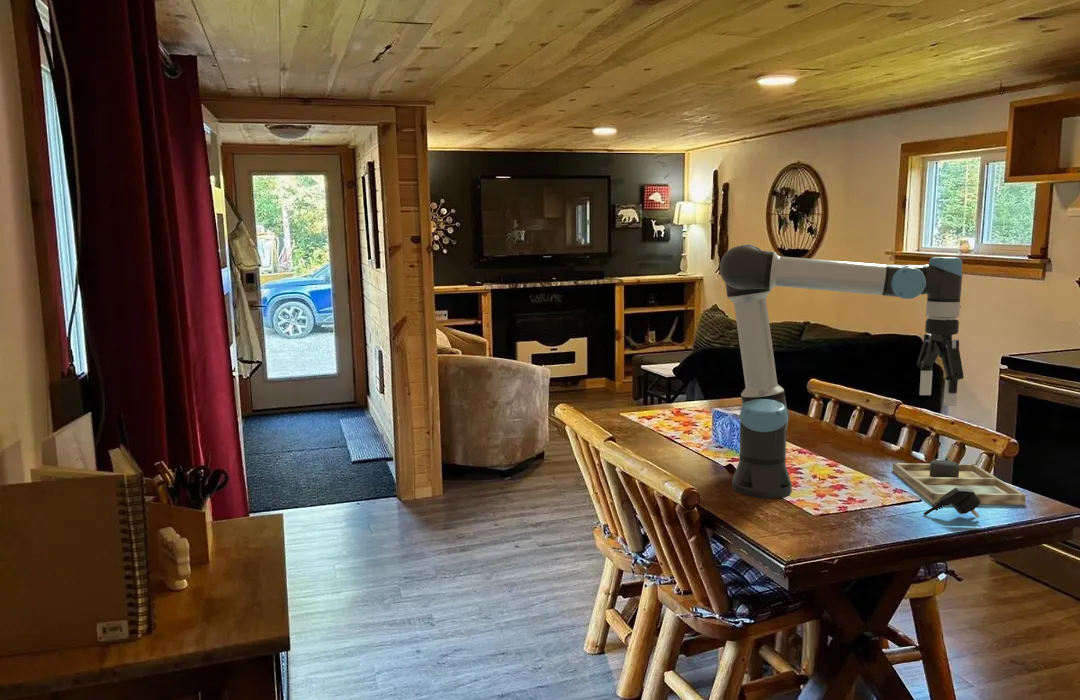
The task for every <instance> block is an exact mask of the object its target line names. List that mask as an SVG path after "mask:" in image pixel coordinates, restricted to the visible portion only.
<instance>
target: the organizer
mask: <svg viewBox="0 0 1080 700" xmlns="http://www.w3.org/2000/svg"><path fill="white" fill-rule="evenodd" d="M958 464H959V478H954V477H932V476H930V463H916V462H915V463H908V462H907V463H902V462H901V463H900V462H896V463H894V462H893V463H892V472H894V473H895V474H896V475H897V476H899V478H901V479H902V480H903V481H904V482H906V483H907V484H908V485H909V486H910V487H911V488H913V489H914V490H915V491H916V492H918V494H920V495H921V496H922V497H924V498H925V499H926V500H927V501H929V502H930V503H931V504H932V505H933V504H934V505H935V503H937V501H938V500H941V499H940V498H941V497H943V496H944V495H945V494H946V493H948V492H950V491H951V490H953V489H954V488H961V489H970V490H972V491H973V492H974V493H975V494H976V495H977V497H978V498H979V499H980V501H981V502H980V504H979V505H1000V506H1001V505H1007V506H1008V505H1009V506H1011V505H1013V506H1014V505H1019V506H1020V505H1021V506H1025V505H1026V500H1027V498H1026V497H1027V495H1026V494H1025V493H1023V492H1021V491H1020V490H1019V489H1017V488H1015V487H1013V486H1011V485H1010V484H1008V483H1007V482H1005V481H1003V480H1001V479H1000V478H998V477H997V476H995V475H993V474H991V473H990V472H989V471H987V470H985V469H984V468H982V467H980V466H979V465H978V464H974V463H958ZM938 502H939V501H938Z"/></svg>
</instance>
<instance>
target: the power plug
mask: <svg viewBox="0 0 1080 700" xmlns="http://www.w3.org/2000/svg"><path fill="white" fill-rule="evenodd" d="M940 499H941V500H938V501H939V502H938V501H937V503H935V504H932V505H931V508H929V509H928V510H926V511H924V512H923V514H922V515H924V516H927V515H928V514H930V513H932V512H933V511H938V510H941V509H943V508H945V507H947V506H950V505H952V507H953V508H954V509H955V511H956V512H957V513H958V514H959V515H965V514H968V513H971V514H972V515H974V517H976V518H977V519H978V518H980V515H979V513H978V512H977V511H976V510H975V509H976V508H978V507H979V506H980V505H981V504H980V502H981V501H980V499H979V498H978V497H977V495H976V494H975V493H974V492H973V491H972V490H970V489H961V488H954V489H953V490H951V491H950V492H948V493H946V494H945V495H944V496H943V497H941V498H940Z"/></svg>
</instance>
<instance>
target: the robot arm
mask: <svg viewBox="0 0 1080 700" xmlns="http://www.w3.org/2000/svg"><path fill="white" fill-rule="evenodd" d="M719 273H720V276H721V278H722V280H723V282H724V283H725V290H726V297H727V299H729V300H730V301H731V302H732V303H733V304H734V305H733V306H734V313H735V319H736V328H737V334H738V335H737V336H738V343H739V349H740V354H741V355H740V356H741V363H742V370H743V378H744V385H745V388H744V389H743V390H742V392H741V393H740V397H741V403H742V404H741V407H740V412H739V421H740V424H739V460H738V461H739V462H738V464H737V466H736V469H735V471H734V475H733V478H732V481H731V488H732V489H733V491H734V492H736V493H738V494H741V495H744V496H746V497H751V498H755V499H765V500H766V499H767V500H768V499H769V500H770V499H780V498H785V497H788V496H790V495H791V494H792V492H793V491H792V490H793V489H792V487H793V485H792V481H791V478H790V475H789V471H788V468H787V465H786V456H787V455H786V452H787V429H788V424H789V420H790V413H789V409H788V406H787V401H786V396H785V389H784V388H783V387H782V386H781V385H779V384H778V377H777V372H776V371H777V370H776V369H777V368H776V363H775V356H774V354H775V353H774V348H773V340H772V335H771V333H772V332H771V326H770V319H769V311H768V304H767V297H768V296H769V295H770V293H771V290H772V289H774V288H775V287H781V288H793V289H794V288H795V289H803V290H804V289H805V290H806V289H807V290H816V291H817V290H819V291H827V292H840V293H851V294H861V295H862V294H863V295H872V296H873V295H875V296H883V297H884V296H885V297H896V298H900V299H903V300H905V299H906V300H908V299H909V300H912V299H914V298H917V297H919V296H920V295H926V296H927V300H926V307H925V309H926V310H925V316H926V317H927V318H926V319H925V326H924V331H925V334H924V335H923V342H922V345H921V349H920V352H919V356H918V359H917V361H916V366H917V367H919V370H920V376H919V377H920V378H919V379H920V382H919V393H918V394H919V396H932V386H933V385H932V384H933V383H932V382H933V371H934V367H933V366H934V364H935V362H936V360H937V358H938V357H939V358H941V361H942V365H943V369H944V372H945V374H946V375H945V378H944V395H943V406H945V407H956V406H957V399H958V398H957V397H958V396H957V395H958V386H959V385H958V383H959V381H960V380H963V379H964V371H963V370H964V369H963V364H962V359H961V358H962V357H961V353H960V340H959V339H953V335H957V334H958V333H959V327H960V320H959V319H957V318H959V317H960V310H961V308H962V306H961V297H962V296H961V295H962V283H963V277H964V274H963V260H962V259H961V258H960V257H957V256H953V257H952V256H940V257H939V256H933V257H931V258H929V262H928V263H927V264H920V265H919V264H893V263H892V264H882V263H881V264H880V263H871V262H870V263H868V262H857V261H856V262H855V261H842V260H829V259H819V258H818V259H817V258H816V259H815V258H805V257H804V258H803V257H795V256H794V257H792V256H781V255H778V253H777V252H776V251H766V250H762V249H760V248H759V247H757V246H755V245H751V244H742V245H737V246H734V247H732V248H730V249H729V250H727V251H726V252H725V253H724V255H723V256H722V258H721V261H720V264H719Z"/></svg>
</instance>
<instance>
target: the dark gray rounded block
mask: <svg viewBox="0 0 1080 700" xmlns="http://www.w3.org/2000/svg"><path fill="white" fill-rule="evenodd" d="M929 464H930V476H932V477H954V478H959V464H960V463H958V462H957V461H952V460H945V459H934V460H933V459H932V460H931V461H930V462H929Z"/></svg>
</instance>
